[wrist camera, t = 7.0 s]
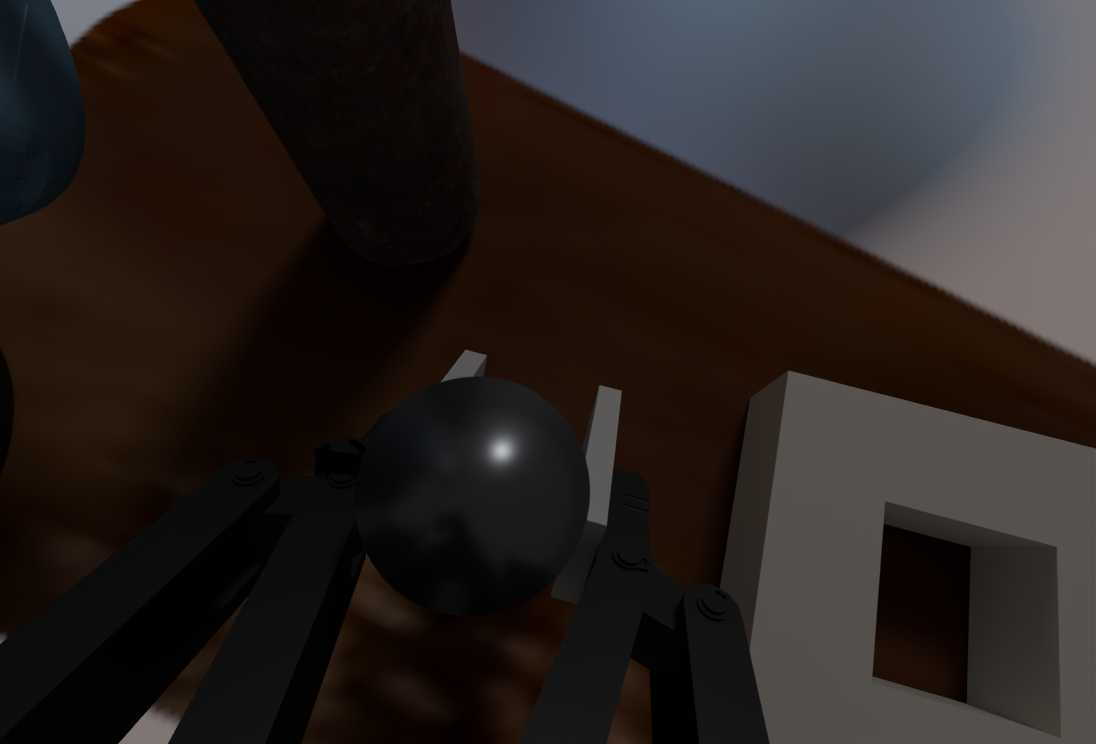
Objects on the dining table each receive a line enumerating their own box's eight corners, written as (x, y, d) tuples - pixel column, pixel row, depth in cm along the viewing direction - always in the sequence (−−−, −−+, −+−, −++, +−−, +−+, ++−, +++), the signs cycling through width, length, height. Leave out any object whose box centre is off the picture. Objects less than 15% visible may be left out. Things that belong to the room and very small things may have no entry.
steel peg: (446, 556, 21) (317, 576, 9) (477, 457, 22) (402, 352, 10) (544, 585, 21) (556, 647, 9) (570, 483, 22) (613, 408, 10)
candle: (508, 251, 27) (434, -467, 8) (366, 304, 26) (-113, -370, 7) (454, 135, 29) (291, -652, 10) (321, 180, 28) (-143, -598, 9)
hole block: (694, 742, 20) (730, 787, 17) (750, 398, 25) (788, 370, 21) (1076, 858, 20) (1205, 933, 16) (1065, 479, 24) (1165, 466, 20)
